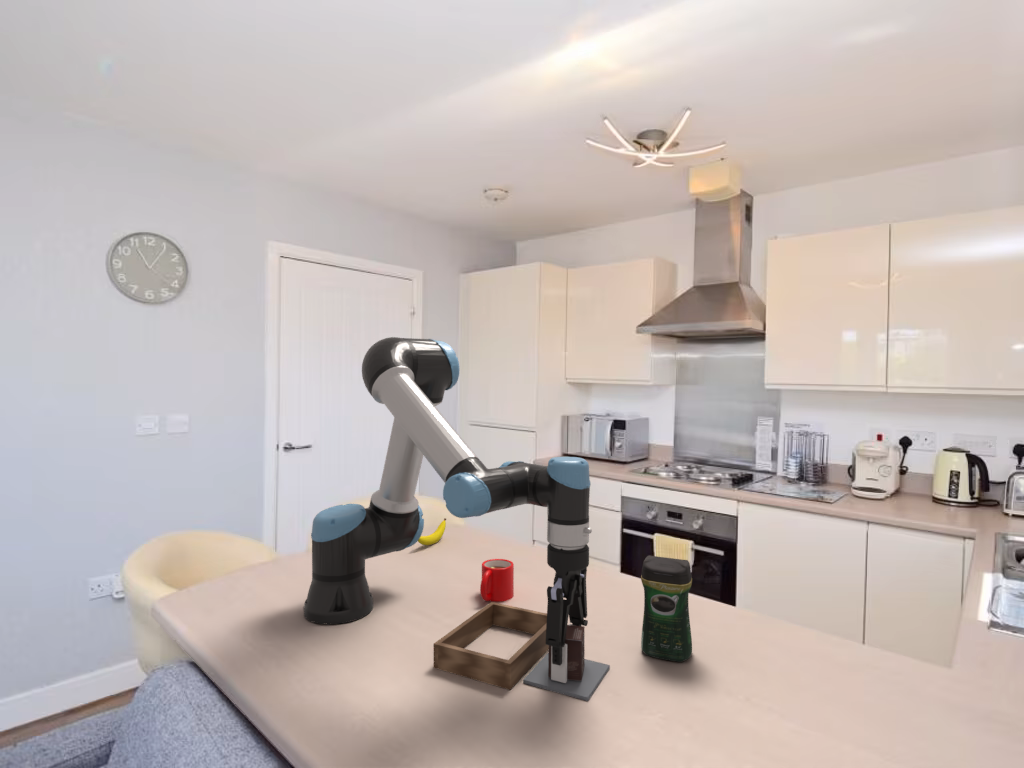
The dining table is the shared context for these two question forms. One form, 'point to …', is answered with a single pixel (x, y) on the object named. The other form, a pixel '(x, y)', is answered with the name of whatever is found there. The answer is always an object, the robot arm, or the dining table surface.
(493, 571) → the mug
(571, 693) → the slate mat
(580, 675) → the box
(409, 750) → the dining table surface
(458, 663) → the walnut crate
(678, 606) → the coffee jar
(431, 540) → the banana
